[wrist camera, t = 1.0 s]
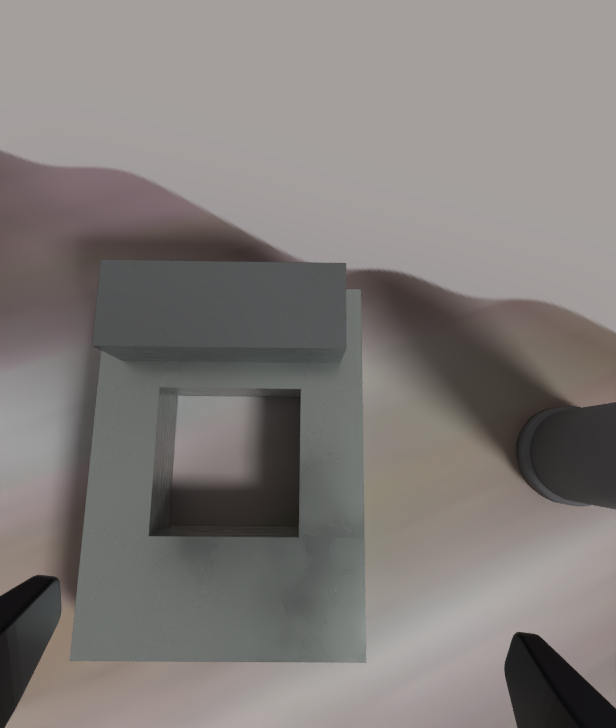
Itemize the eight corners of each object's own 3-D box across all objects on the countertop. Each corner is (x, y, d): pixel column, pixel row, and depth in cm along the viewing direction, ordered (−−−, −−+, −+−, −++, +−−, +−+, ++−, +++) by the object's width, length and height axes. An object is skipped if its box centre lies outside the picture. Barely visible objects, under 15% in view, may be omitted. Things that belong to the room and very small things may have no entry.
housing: (357, 633, 21) (378, 703, 15) (102, 631, 21) (25, 701, 15) (353, 308, 24) (370, 263, 18) (131, 306, 24) (76, 259, 18)
